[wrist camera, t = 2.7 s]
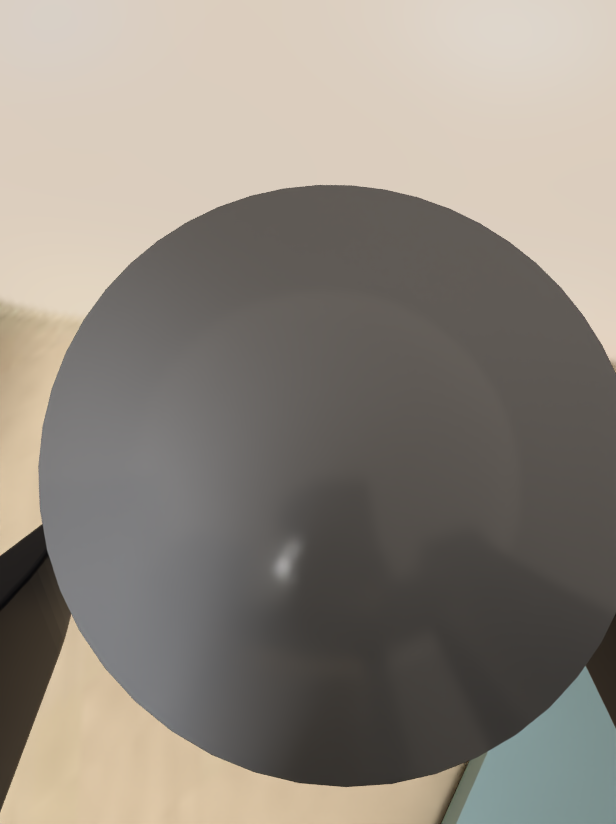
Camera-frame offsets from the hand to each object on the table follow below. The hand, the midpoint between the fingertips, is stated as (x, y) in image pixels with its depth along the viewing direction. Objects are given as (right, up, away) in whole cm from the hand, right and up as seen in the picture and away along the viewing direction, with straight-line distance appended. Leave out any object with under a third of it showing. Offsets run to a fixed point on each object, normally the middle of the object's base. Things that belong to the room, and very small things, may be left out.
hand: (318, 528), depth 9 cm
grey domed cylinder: (0, -1, +8) cm, 9 cm away
